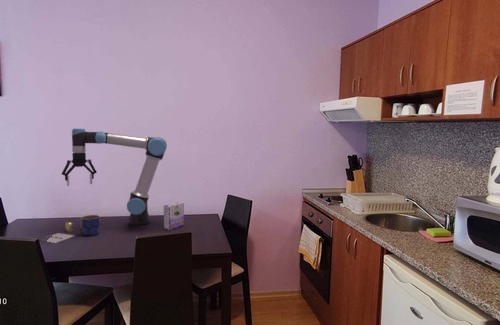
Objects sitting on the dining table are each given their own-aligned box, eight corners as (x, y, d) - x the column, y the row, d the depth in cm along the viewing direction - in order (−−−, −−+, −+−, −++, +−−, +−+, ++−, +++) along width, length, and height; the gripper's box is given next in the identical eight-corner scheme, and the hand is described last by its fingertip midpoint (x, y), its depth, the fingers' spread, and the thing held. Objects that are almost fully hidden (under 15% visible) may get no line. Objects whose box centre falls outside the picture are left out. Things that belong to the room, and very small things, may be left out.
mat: (74, 236, 203) (74, 235, 203) (54, 243, 190) (54, 242, 190) (57, 233, 208) (57, 233, 208) (37, 240, 195) (37, 239, 194)
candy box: (178, 224, 232) (178, 201, 231) (184, 225, 229) (184, 202, 227) (163, 228, 221) (163, 205, 220) (169, 230, 218) (169, 206, 216)
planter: (102, 231, 214) (101, 214, 213) (97, 236, 204) (96, 219, 203) (84, 231, 212) (83, 215, 211) (78, 237, 202) (78, 219, 201)
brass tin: (74, 231, 214) (73, 222, 213) (69, 232, 210) (68, 223, 209) (69, 230, 215) (69, 221, 214) (64, 232, 211) (63, 223, 211)
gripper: (97, 151, 219) (98, 182, 221) (55, 152, 203) (56, 185, 205) (101, 152, 213) (101, 183, 215) (58, 153, 197) (59, 187, 199)
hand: (79, 184), depth 210 cm, fingers open, 13 cm apart
